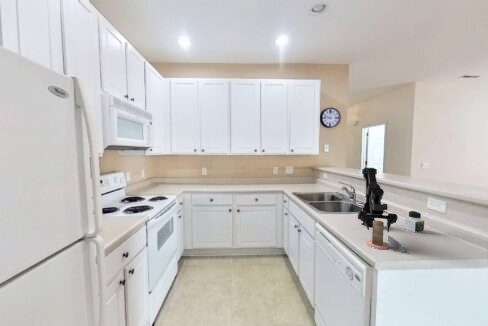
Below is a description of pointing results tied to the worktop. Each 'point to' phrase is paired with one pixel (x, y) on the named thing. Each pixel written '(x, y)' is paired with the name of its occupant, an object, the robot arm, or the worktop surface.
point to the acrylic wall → (396, 244)
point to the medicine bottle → (414, 222)
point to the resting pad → (369, 242)
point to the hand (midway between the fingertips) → (378, 230)
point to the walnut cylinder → (377, 233)
